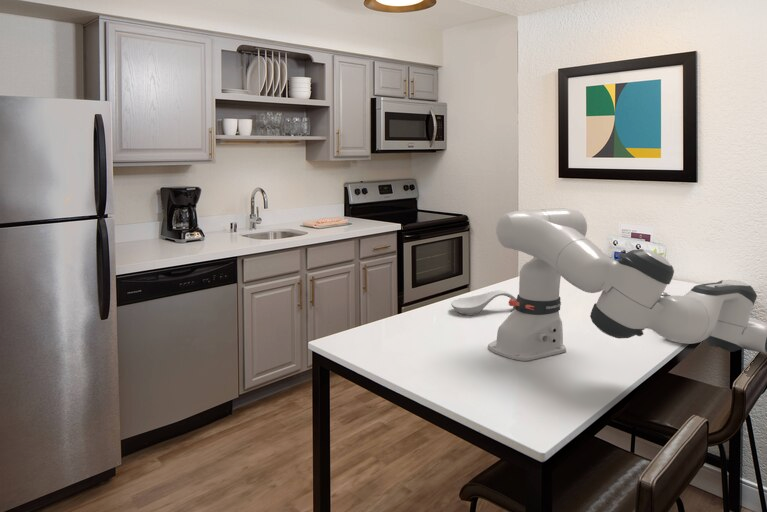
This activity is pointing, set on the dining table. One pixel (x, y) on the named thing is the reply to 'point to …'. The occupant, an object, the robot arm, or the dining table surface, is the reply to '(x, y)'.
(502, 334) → the robot arm
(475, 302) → the spoon rest
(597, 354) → the dining table surface
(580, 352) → the dining table surface
